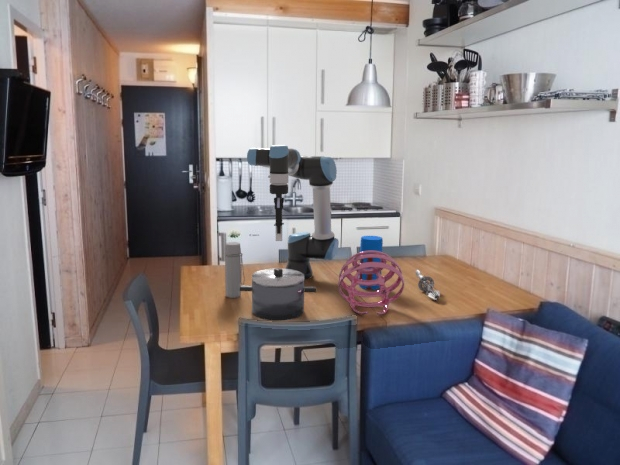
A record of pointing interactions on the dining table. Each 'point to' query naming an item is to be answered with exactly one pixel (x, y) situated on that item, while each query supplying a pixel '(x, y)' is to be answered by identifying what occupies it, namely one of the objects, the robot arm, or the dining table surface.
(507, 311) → the dining table surface
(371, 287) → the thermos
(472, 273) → the dining table surface
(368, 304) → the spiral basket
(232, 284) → the water bottle
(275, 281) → the lid
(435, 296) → the spaceship
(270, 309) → the pot
